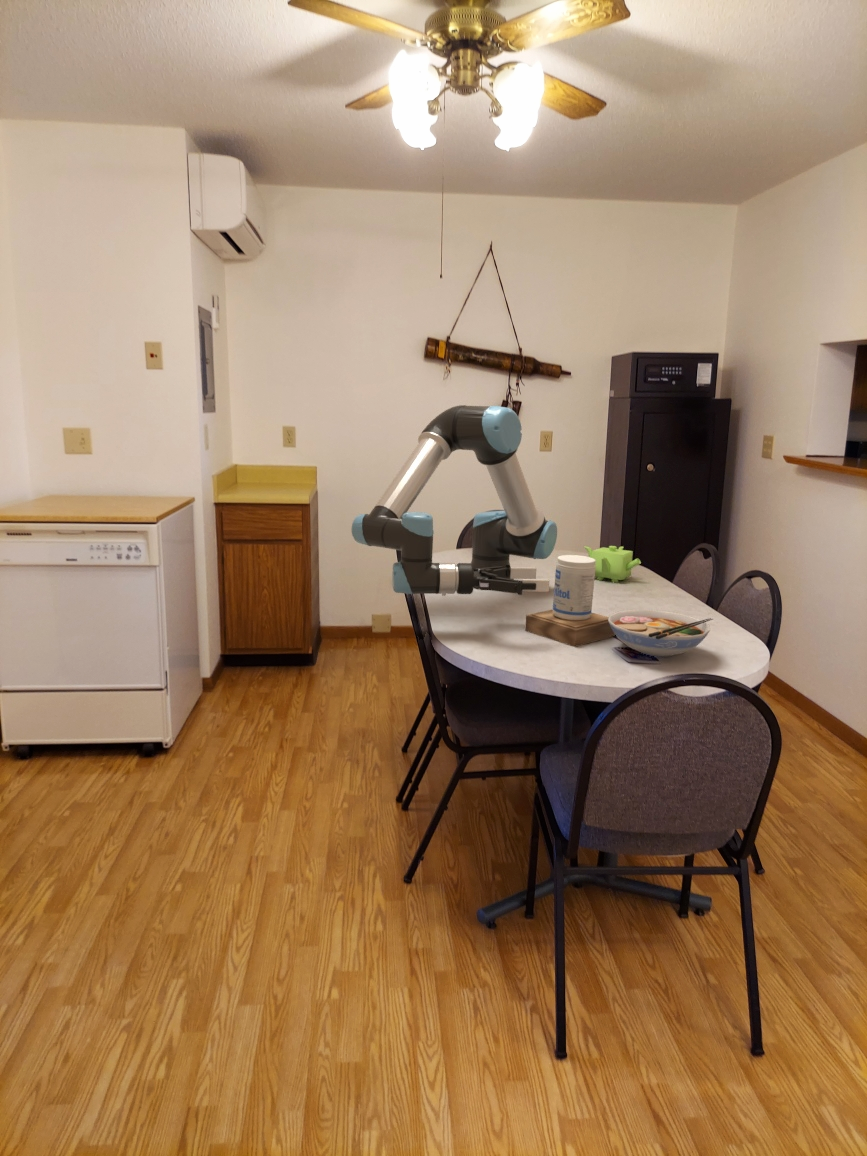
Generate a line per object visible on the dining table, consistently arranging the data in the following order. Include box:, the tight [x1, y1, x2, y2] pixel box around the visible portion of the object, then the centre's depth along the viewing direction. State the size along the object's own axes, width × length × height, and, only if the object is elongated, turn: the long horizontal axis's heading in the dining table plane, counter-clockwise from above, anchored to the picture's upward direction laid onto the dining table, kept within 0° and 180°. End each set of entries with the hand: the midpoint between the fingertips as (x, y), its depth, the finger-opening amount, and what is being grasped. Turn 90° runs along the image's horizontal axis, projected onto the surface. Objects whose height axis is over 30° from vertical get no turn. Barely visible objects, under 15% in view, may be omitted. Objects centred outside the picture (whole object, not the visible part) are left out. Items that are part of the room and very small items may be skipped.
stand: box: [524, 608, 615, 647], centre depth 192 cm, size 16×16×4 cm
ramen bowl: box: [608, 609, 714, 658], centre depth 178 cm, size 25×23×8 cm
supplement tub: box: [552, 554, 596, 621], centre depth 190 cm, size 10×10×15 cm
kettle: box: [582, 545, 642, 584], centre depth 254 cm, size 15×14×11 cm
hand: (542, 579), depth 189 cm, fingers open, 13 cm apart
